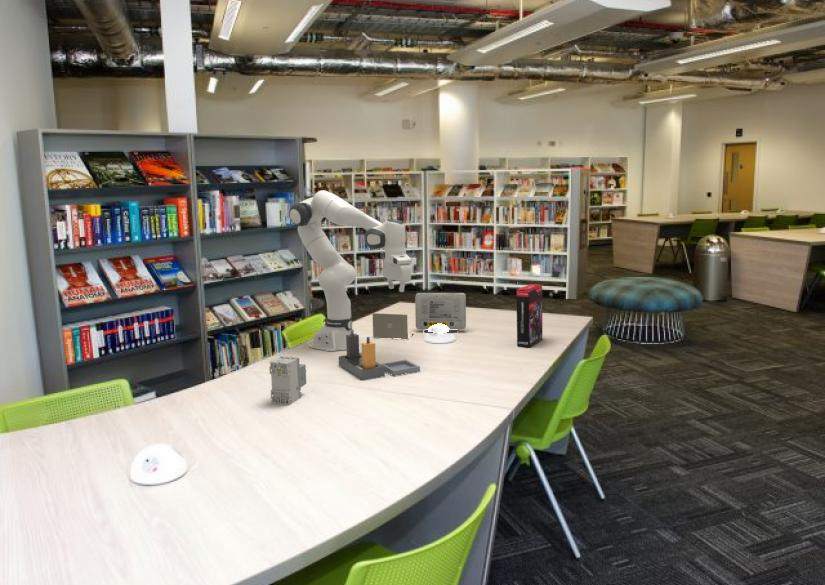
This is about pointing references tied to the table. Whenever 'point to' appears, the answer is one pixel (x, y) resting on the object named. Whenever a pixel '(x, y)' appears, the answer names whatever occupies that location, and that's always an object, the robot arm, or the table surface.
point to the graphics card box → (529, 315)
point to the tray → (400, 367)
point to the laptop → (390, 326)
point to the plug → (368, 354)
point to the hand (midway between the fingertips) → (396, 290)
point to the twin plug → (352, 345)
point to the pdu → (357, 370)
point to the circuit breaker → (286, 379)
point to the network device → (440, 310)
